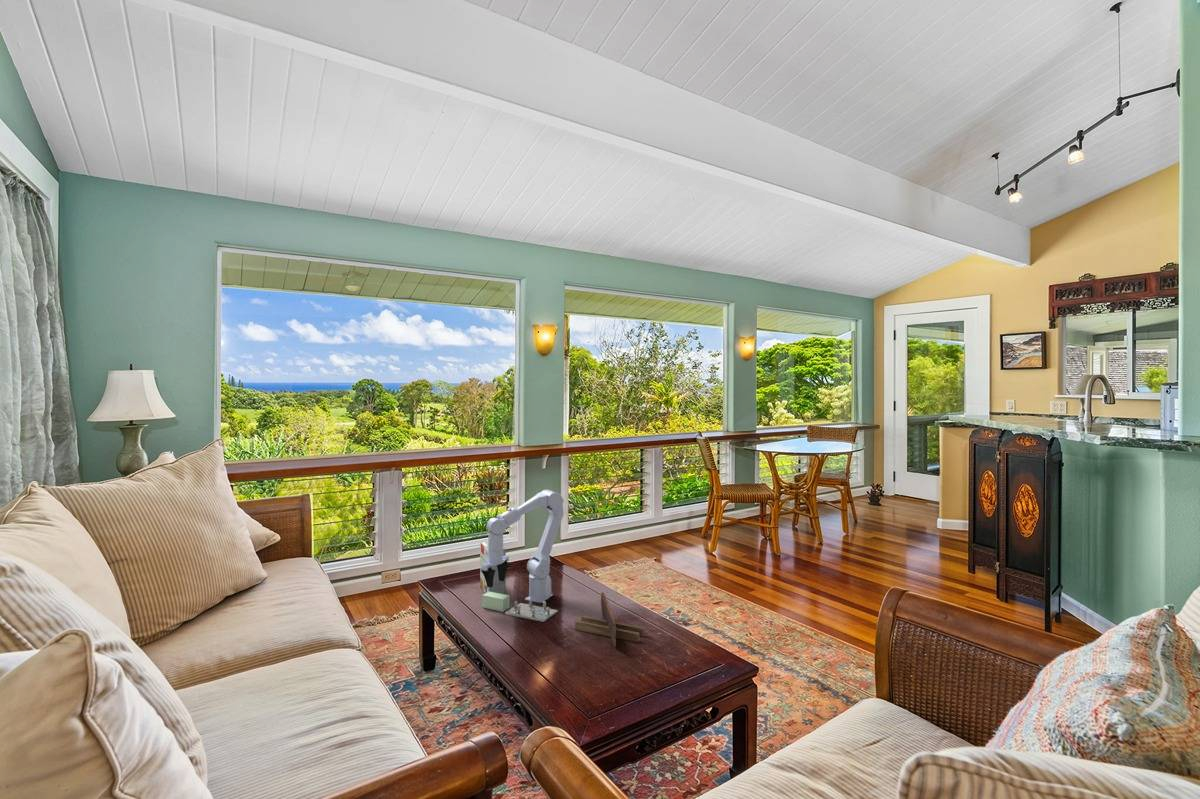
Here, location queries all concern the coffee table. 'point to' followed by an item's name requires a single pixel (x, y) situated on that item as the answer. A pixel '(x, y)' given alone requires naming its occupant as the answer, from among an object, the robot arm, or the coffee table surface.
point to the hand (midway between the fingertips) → (495, 583)
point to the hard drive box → (497, 585)
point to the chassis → (531, 611)
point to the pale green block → (495, 601)
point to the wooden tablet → (608, 618)
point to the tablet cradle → (602, 629)
